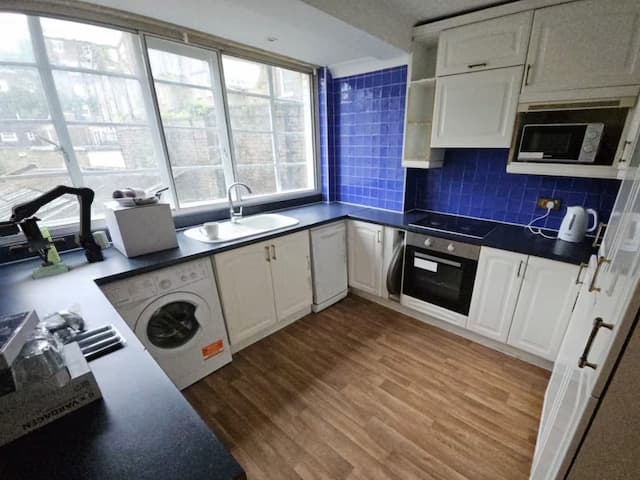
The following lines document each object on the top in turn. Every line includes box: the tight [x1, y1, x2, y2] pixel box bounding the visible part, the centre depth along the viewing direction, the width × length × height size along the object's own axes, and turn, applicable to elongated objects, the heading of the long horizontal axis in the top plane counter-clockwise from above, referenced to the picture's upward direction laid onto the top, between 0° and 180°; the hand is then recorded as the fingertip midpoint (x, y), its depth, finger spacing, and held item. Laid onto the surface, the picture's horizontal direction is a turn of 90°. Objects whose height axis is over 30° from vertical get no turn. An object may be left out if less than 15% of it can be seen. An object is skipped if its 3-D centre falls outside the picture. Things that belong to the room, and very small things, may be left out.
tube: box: [38, 225, 61, 263], centre depth 157 cm, size 6×5×20 cm
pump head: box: [40, 261, 54, 267], centre depth 146 cm, size 4×4×2 cm
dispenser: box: [32, 262, 69, 280], centre depth 147 cm, size 12×10×4 cm
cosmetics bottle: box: [92, 230, 111, 250], centre depth 180 cm, size 5×4×10 cm
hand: (46, 262), depth 145 cm, fingers closed, pressing on pump head
